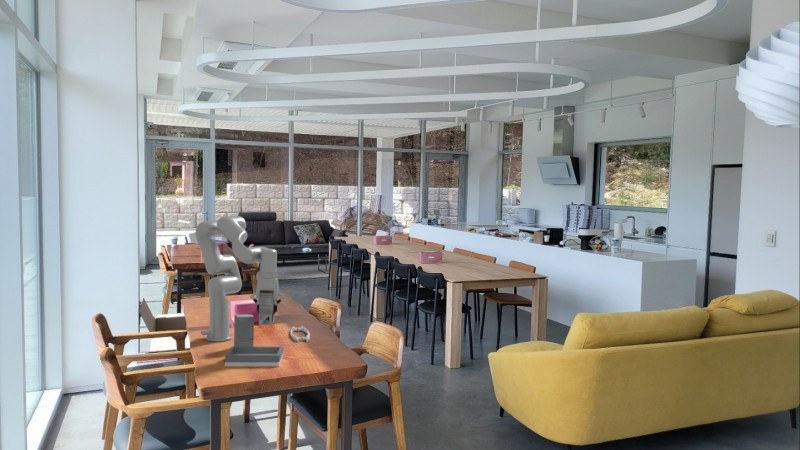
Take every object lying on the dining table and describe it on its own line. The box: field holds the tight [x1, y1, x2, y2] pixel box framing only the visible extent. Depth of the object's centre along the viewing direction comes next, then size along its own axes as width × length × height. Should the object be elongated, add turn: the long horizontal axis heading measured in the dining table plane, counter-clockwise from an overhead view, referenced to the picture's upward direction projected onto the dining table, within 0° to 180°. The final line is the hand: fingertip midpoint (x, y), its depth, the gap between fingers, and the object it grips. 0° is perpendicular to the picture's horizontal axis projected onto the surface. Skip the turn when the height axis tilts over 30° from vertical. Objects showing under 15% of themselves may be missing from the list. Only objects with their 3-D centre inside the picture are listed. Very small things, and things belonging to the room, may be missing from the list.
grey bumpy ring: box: [289, 325, 311, 343], centre depth 294 cm, size 3×10×25 cm
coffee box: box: [258, 290, 276, 326], centre depth 263 cm, size 9×6×16 cm
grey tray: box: [224, 345, 284, 368], centre depth 250 cm, size 23×16×4 cm
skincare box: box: [233, 313, 255, 346], centre depth 269 cm, size 8×7×16 cm
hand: (267, 312), depth 264 cm, fingers closed on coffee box, 6 cm apart
